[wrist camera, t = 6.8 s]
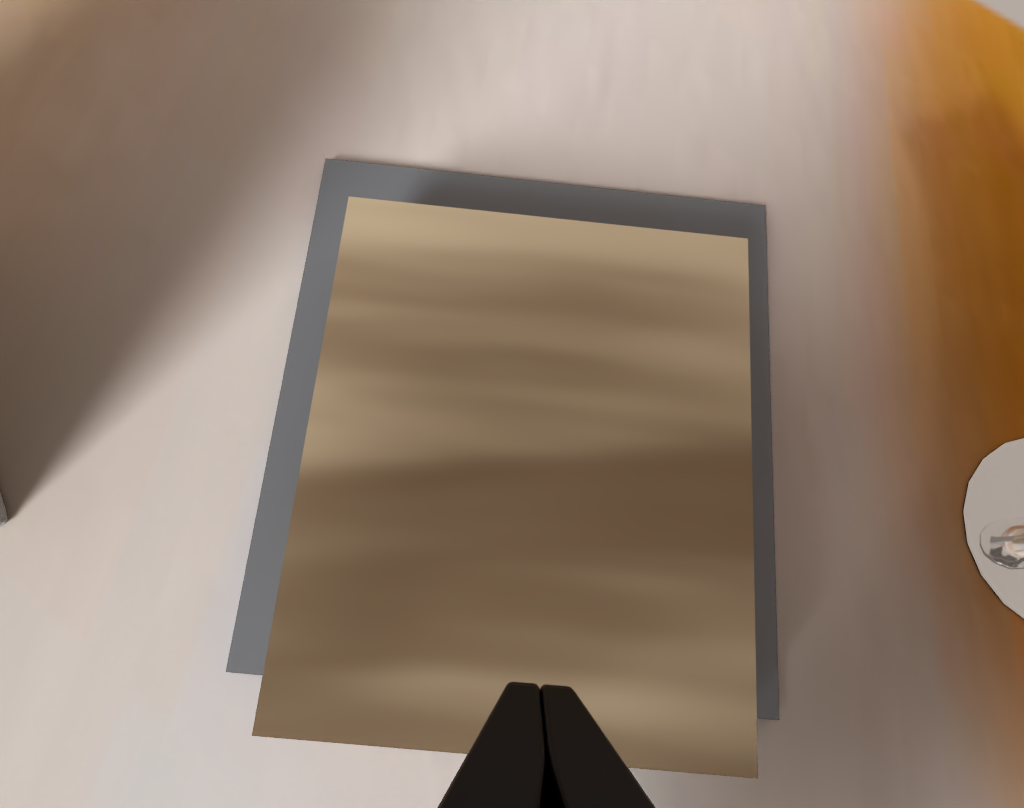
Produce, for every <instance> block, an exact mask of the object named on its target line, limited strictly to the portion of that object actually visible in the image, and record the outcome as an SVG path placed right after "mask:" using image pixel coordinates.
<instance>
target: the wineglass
mask: <svg viewBox="0 0 1024 808" xmlns="http://www.w3.org/2000/svg"><path fill="white" fill-rule="evenodd" d="M963 513H964V520H965V528H966V536H967V543H968V545H969V548H970V550H971V552H972V555H973V557H974V559H975V562H976V564H977V566H978V568H979V571H980V573H981V575H982V576H983V578H984V579H985V580H986V582H987V583H988V584H989V585H990V587H991V588H992V589H993V590H994V592H995V593H996V594H997V595H998V597H999V598H1000V599H1001V601H1002V602H1003V603H1004V604H1005V605H1006V606H1008V607H1009V608H1010V609H1012V610H1013V611H1014V612H1016V613H1017V614H1018V615H1020V616H1021V617H1022V618H1024V438H1022V439H1019V440H1015V441H1011V442H1007V443H1004V444H1003V445H1002V446H1000V447H999V448H997V449H996V450H995V451H993V452H992V453H991V454H989V455H988V456H986V457H985V458H984V459H983V460H982V462H981V463H980V465H979V466H978V468H977V470H976V471H975V473H974V475H973V476H972V478H971V479H970V481H969V484H968V489H967V494H966V499H965V505H964V510H963Z"/></svg>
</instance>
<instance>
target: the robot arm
mask: <svg viewBox="0 0 1024 808" xmlns="http://www.w3.org/2000/svg"><path fill="white" fill-rule="evenodd" d="M438 808H655V806H654V805H653V804H652V802H651V801H650V799H649V798H648V796H647V795H646V793H645V792H644V791H643V789H642V788H641V786H640V785H639V783H638V782H637V780H636V779H635V778H634V776H633V775H632V773H631V772H630V770H629V769H628V767H627V766H626V765H625V763H624V762H623V760H622V759H621V757H620V756H619V754H618V753H617V752H616V750H615V749H614V747H613V746H612V744H611V743H610V741H609V740H608V738H607V737H606V736H605V734H604V733H603V731H602V730H601V728H600V727H599V725H598V724H597V723H596V721H595V720H594V718H593V717H592V715H591V714H590V712H589V711H588V710H587V708H586V707H585V705H584V704H583V702H582V701H581V699H580V698H579V697H578V695H577V694H576V692H575V691H574V690H573V689H572V688H571V687H569V686H561V685H549V684H544V685H542V686H541V688H539V686H538V685H537V684H535V683H524V682H509V683H508V684H507V685H506V687H505V688H504V690H503V692H502V694H501V695H500V697H499V699H498V701H497V703H496V704H495V706H494V708H493V710H492V712H491V713H490V715H489V717H488V719H487V720H486V722H485V724H484V726H483V728H482V729H481V731H480V733H479V735H478V737H477V738H476V740H475V742H474V744H473V745H472V747H471V749H470V751H469V753H468V754H467V756H466V758H465V760H464V762H463V763H462V765H461V767H460V769H459V771H458V772H457V774H456V776H455V778H454V779H453V781H452V783H451V785H450V787H449V788H448V790H447V792H446V794H445V796H444V797H443V799H442V801H441V803H440V804H439V806H438Z"/></svg>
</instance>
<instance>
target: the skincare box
mask: <svg viewBox="0 0 1024 808" xmlns="http://www.w3.org/2000/svg"><path fill="white" fill-rule="evenodd" d="M6 522H7V513H6V508H5V505H4V502H3V499H2V496H1V492H0V526H2V525H3V524H4V523H6Z"/></svg>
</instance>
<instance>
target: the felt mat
mask: <svg viewBox="0 0 1024 808" xmlns="http://www.w3.org/2000/svg"><path fill="white" fill-rule="evenodd" d="M348 197H359V198H368V199H378V200H387V201H397V202H406V203H415V204H425V205H434V206H444V207H453V208H463V209H472V210H482V211H491V212H501V213H510V214H520V215H529V216H539V217H548V218H558V219H567V220H577V221H586V222H595V223H605V224H614V225H624V226H633V227H643V228H652V229H662V230H671V231H681V232H690V233H700V234H709V235H719V236H728V237H738V238H747V239H748V267H749V321H750V375H751V429H752V483H753V537H754V591H755V645H756V700H757V718H760V719H772V720H779V688H778V651H777V614H776V578H775V541H774V504H773V467H772V430H771V393H770V356H769V319H768V282H767V245H766V208H765V205H755V204H746V203H737V202H727V201H718V200H709V199H699V198H690V197H681V196H671V195H662V194H653V193H643V192H634V191H625V190H615V189H606V188H597V187H587V186H578V185H569V184H559V183H550V182H541V181H531V180H522V179H513V178H503V177H494V176H485V175H475V174H466V173H457V172H447V171H438V170H429V169H419V168H410V167H401V166H391V165H382V164H373V163H363V162H354V161H345V160H335V159H326V160H325V165H324V170H323V175H322V180H321V185H320V190H319V196H318V201H317V206H316V211H315V216H314V221H313V226H312V232H311V237H310V242H309V247H308V252H307V257H306V262H305V268H304V273H303V278H302V283H301V288H300V293H299V298H298V303H297V309H296V314H295V319H294V324H293V329H292V334H291V339H290V345H289V350H288V355H287V360H286V365H285V370H284V375H283V381H282V386H281V391H280V396H279V401H278V406H277V411H276V417H275V422H274V427H273V432H272V437H271V442H270V447H269V452H268V458H267V463H266V468H265V473H264V478H263V483H262V488H261V494H260V499H259V504H258V509H257V514H256V519H255V524H254V530H253V535H252V540H251V545H250V550H249V555H248V560H247V565H246V571H245V576H244V581H243V586H242V591H241V596H240V601H239V607H238V612H237V617H236V622H235V627H234V632H233V637H232V643H231V648H230V653H229V658H228V663H227V668H226V672H232V673H244V674H255V675H263V671H264V666H265V660H266V655H267V649H268V643H269V638H270V632H271V627H272V621H273V616H274V610H275V604H276V599H277V593H278V588H279V582H280V577H281V571H282V565H283V560H284V554H285V549H286V543H287V538H288V532H289V526H290V521H291V515H292V510H293V504H294V498H295V493H296V487H297V482H298V476H299V471H300V465H301V459H302V454H303V448H304V443H305V437H306V432H307V426H308V420H309V415H310V409H311V404H312V398H313V392H314V387H315V381H316V376H317V370H318V365H319V359H320V353H321V348H322V342H323V337H324V331H325V326H326V320H327V314H328V309H329V303H330V298H331V292H332V287H333V281H334V275H335V270H336V264H337V259H338V253H339V247H340V242H341V236H342V231H343V225H344V220H345V214H346V208H347V203H348Z"/></svg>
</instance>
